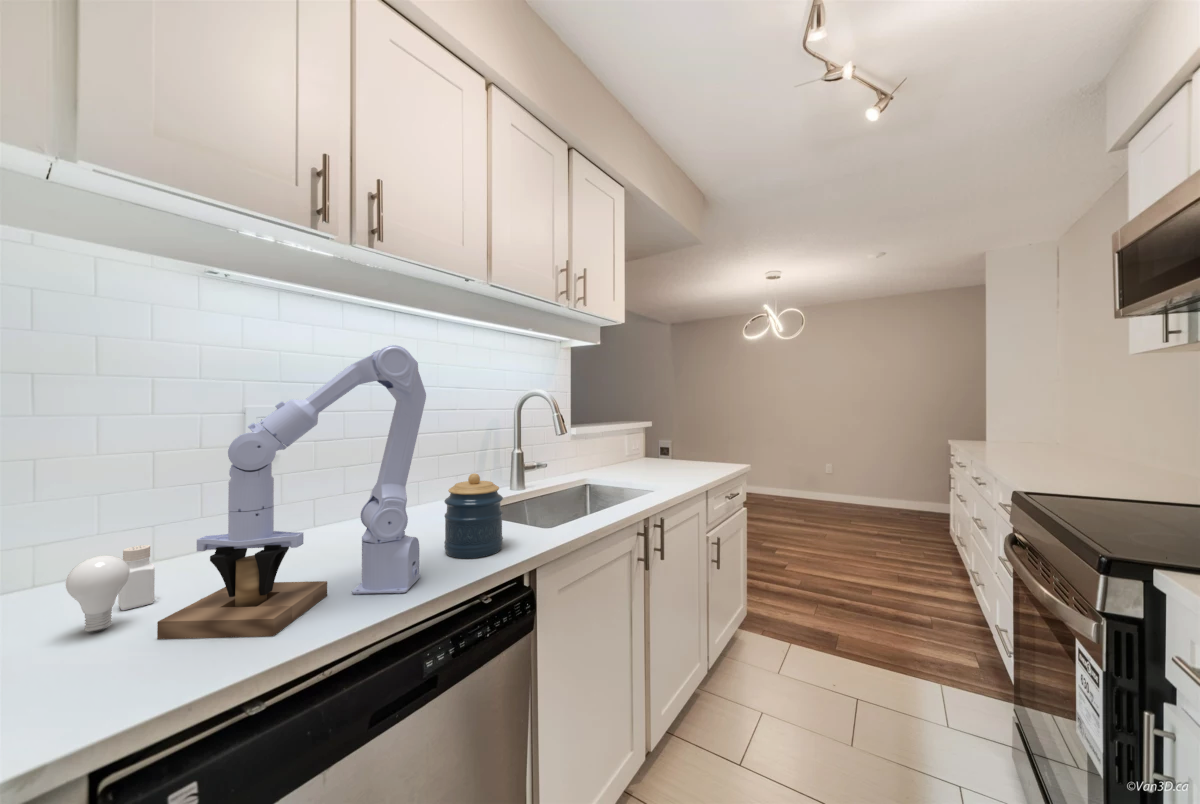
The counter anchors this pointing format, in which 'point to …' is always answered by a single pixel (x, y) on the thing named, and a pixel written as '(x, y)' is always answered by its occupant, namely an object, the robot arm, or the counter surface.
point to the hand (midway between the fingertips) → (251, 593)
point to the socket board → (242, 613)
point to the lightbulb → (97, 588)
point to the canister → (473, 519)
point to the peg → (247, 583)
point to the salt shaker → (137, 578)
